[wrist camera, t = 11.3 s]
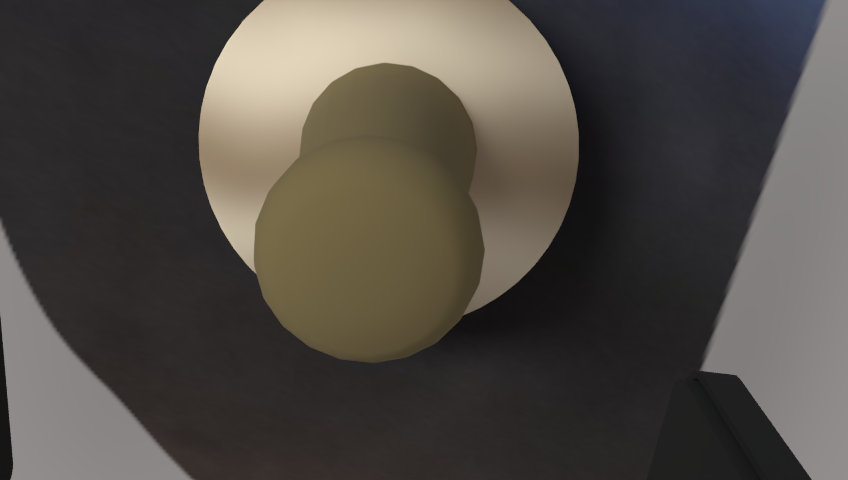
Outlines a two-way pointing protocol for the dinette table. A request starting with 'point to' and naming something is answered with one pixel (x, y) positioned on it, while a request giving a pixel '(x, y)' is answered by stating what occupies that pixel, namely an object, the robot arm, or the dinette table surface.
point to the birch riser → (414, 46)
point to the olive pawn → (374, 218)
